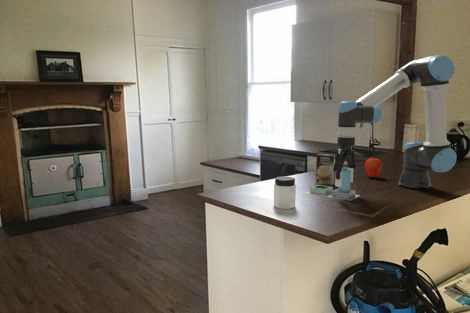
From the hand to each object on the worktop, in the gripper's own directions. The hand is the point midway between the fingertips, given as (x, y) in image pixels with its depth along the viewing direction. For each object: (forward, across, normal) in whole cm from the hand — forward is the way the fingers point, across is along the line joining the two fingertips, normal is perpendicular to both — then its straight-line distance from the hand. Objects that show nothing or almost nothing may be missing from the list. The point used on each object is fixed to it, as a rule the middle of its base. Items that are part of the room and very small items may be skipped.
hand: (344, 184), depth 173 cm
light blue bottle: (+5, 0, 0) cm, 5 cm away
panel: (+6, 0, -6) cm, 8 cm away
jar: (+7, +29, -14) cm, 33 cm away
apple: (+7, -57, -6) cm, 58 cm away
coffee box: (+7, -21, -20) cm, 29 cm away
